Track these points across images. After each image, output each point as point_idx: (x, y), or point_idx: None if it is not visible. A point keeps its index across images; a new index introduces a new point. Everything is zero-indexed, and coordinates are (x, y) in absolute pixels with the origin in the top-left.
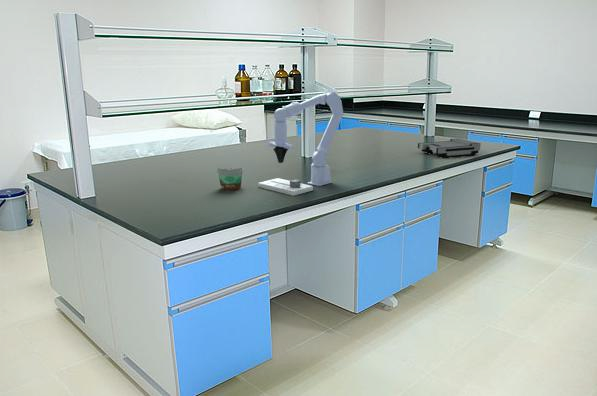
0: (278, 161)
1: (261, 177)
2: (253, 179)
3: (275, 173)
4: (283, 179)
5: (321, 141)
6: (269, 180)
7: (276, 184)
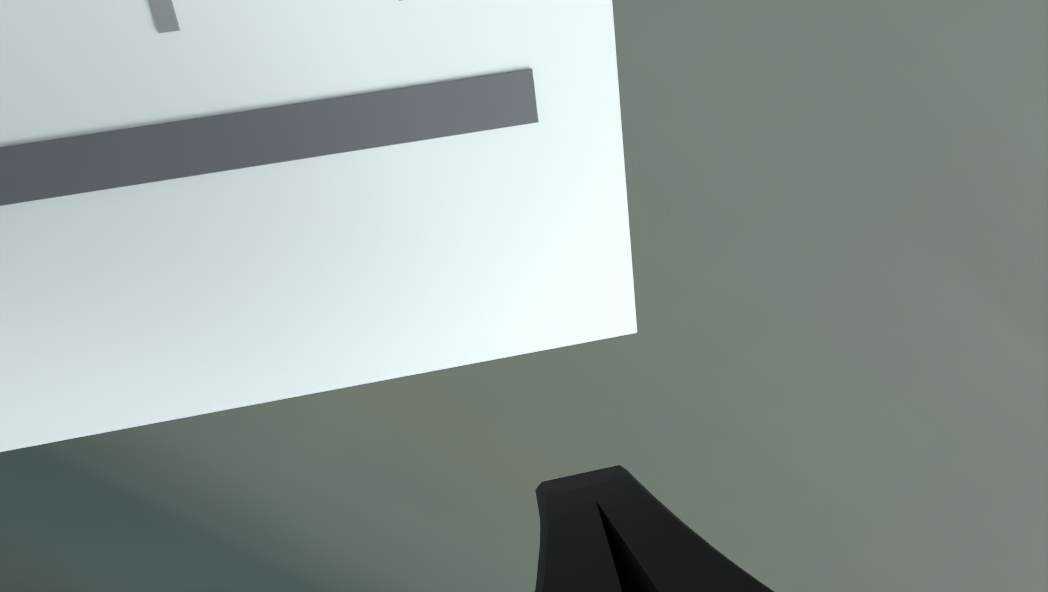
0: (614, 481)
1: (1025, 273)
2: (1041, 89)
3: (1020, 548)
4: (489, 358)
5: None
6: (598, 103)
7: (207, 1)
